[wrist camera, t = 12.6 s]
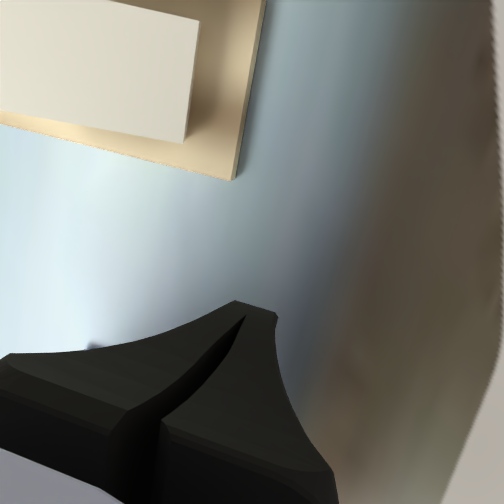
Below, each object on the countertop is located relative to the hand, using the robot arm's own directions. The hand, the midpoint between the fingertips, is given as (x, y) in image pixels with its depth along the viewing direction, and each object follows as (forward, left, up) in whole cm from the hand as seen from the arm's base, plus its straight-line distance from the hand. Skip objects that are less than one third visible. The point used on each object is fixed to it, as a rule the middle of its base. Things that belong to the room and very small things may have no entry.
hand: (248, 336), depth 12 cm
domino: (+6, +6, -9) cm, 12 cm away
